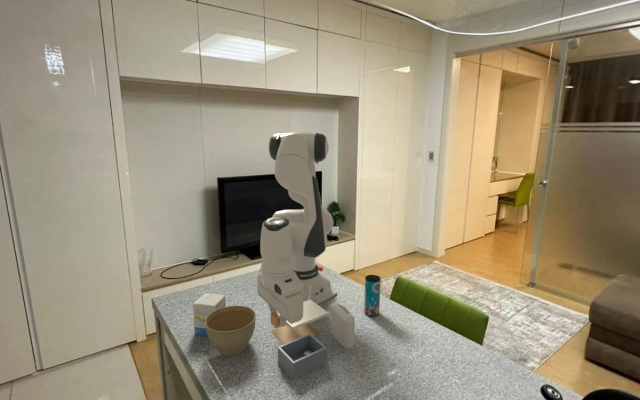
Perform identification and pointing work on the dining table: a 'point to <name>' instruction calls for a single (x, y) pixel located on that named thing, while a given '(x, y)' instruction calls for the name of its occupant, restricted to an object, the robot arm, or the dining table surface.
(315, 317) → the lid
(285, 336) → the mat
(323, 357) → the tub
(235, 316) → the planter bowl
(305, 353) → the part
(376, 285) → the beverage can
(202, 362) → the dining table surface
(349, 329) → the photo printer
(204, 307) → the ink box
